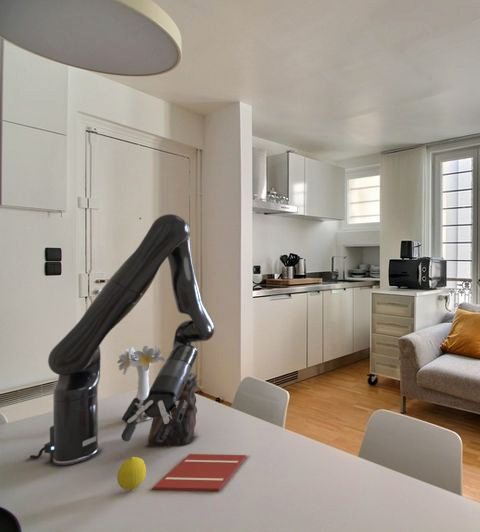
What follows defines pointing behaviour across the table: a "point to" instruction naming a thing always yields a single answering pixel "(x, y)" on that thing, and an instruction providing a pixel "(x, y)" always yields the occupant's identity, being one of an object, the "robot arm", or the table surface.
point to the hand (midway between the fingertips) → (141, 440)
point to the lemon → (131, 473)
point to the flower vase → (140, 367)
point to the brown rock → (186, 429)
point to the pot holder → (201, 472)
